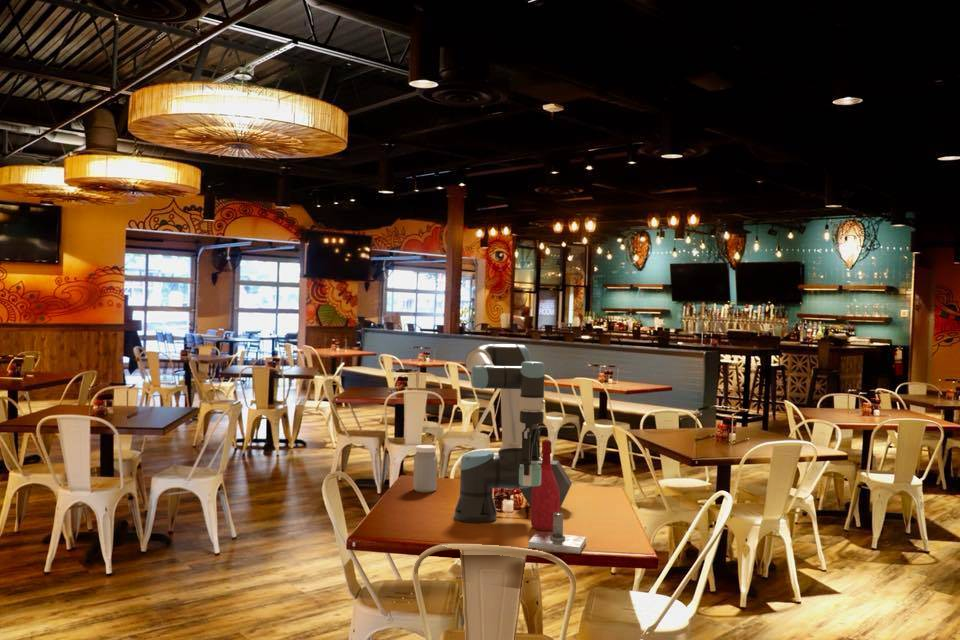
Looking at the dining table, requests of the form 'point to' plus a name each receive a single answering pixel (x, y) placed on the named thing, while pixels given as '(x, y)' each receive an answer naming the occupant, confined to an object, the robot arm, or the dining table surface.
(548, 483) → the wine bottle
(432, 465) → the jar
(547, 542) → the stud base
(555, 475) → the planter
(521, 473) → the cap
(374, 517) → the dining table surface
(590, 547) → the dining table surface
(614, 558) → the dining table surface
